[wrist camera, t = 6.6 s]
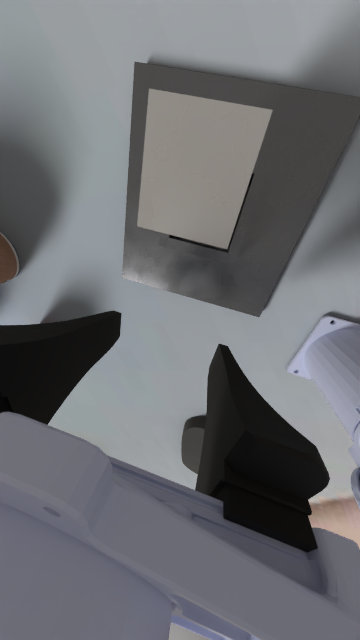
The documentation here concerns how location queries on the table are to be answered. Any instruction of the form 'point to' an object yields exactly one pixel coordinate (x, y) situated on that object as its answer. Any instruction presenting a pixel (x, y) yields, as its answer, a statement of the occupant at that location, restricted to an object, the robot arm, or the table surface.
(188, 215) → the column
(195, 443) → the media streaming box
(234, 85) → the stand
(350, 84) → the table surface
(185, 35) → the table surface
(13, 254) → the coffee cup
